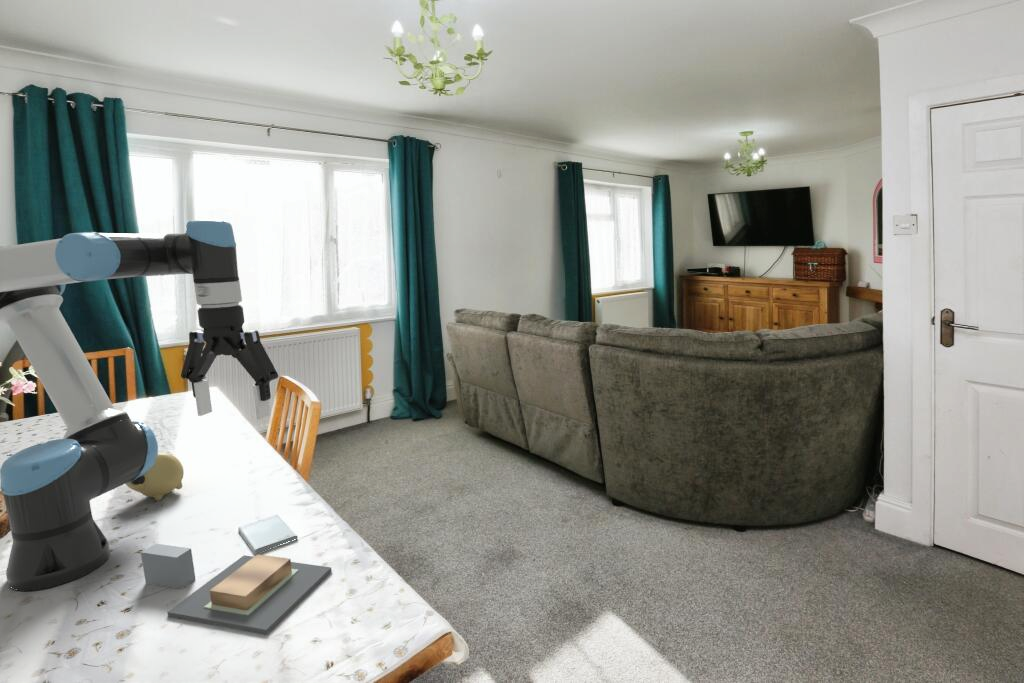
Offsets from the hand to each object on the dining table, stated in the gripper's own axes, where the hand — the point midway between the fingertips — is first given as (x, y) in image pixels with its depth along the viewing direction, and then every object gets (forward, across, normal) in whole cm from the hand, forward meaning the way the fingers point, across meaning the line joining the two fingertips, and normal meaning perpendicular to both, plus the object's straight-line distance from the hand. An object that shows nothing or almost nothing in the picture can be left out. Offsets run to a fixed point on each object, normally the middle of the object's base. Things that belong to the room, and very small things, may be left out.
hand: (233, 415), depth 107 cm
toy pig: (+27, -39, +14) cm, 49 cm away
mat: (+27, +12, -14) cm, 32 cm away
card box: (+26, +12, -14) cm, 32 cm away
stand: (+27, -5, -14) cm, 31 cm away
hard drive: (+28, +1, +4) cm, 28 cm away
